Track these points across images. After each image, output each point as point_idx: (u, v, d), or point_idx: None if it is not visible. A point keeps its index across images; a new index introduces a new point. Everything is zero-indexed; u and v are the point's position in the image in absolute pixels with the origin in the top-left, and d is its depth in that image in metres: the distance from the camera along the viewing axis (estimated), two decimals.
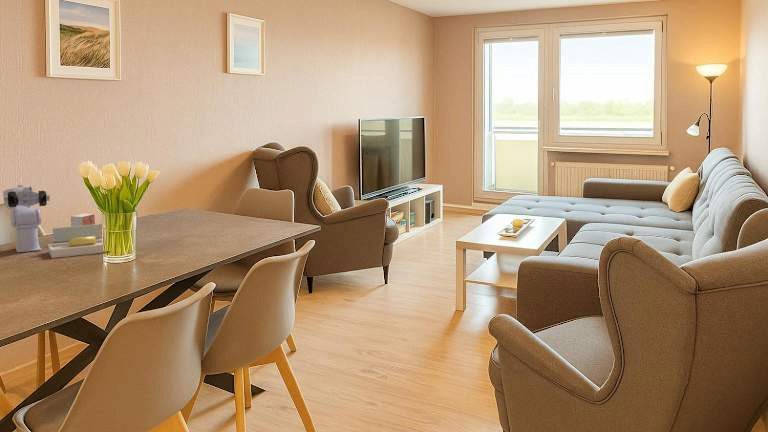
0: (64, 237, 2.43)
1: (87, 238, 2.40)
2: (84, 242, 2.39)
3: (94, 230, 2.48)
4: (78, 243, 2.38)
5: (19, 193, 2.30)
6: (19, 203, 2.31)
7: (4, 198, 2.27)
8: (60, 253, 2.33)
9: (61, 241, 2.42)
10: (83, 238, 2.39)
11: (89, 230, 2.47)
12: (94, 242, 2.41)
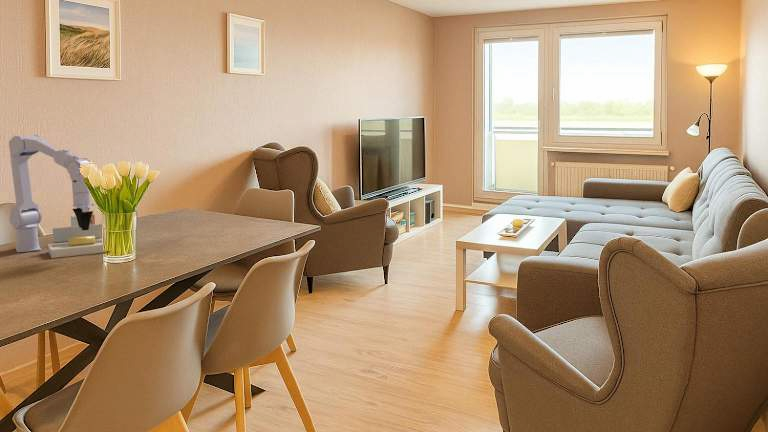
0: (64, 237, 2.43)
1: (86, 236, 2.41)
2: (84, 239, 2.40)
3: (94, 230, 2.48)
4: (77, 240, 2.39)
5: (88, 206, 2.31)
6: None
7: (86, 211, 2.27)
8: (60, 253, 2.33)
9: (61, 241, 2.42)
10: None
11: (89, 230, 2.47)
12: (94, 239, 2.42)
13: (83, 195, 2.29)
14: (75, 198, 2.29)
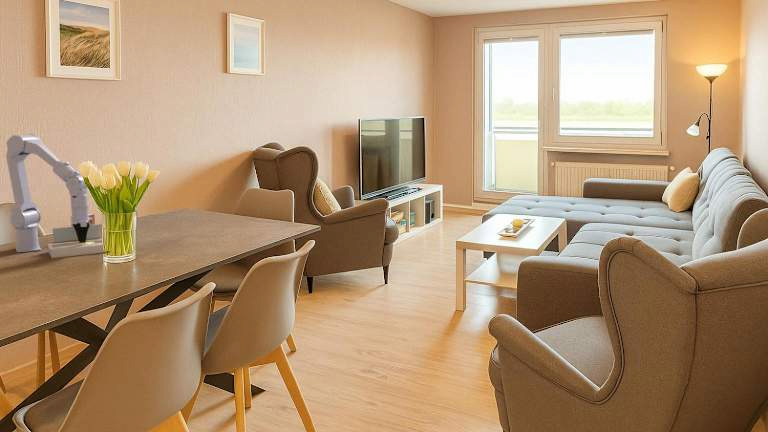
0: (64, 237, 2.43)
1: None
2: None
3: (94, 230, 2.48)
4: None
5: (87, 221, 2.38)
6: None
7: (84, 226, 2.33)
8: (60, 253, 2.33)
9: (61, 241, 2.42)
10: None
11: (89, 230, 2.47)
12: None
13: (81, 210, 2.36)
14: (74, 213, 2.36)
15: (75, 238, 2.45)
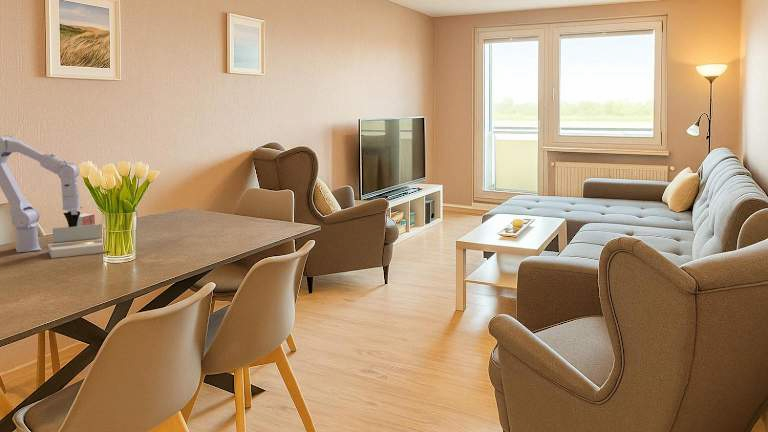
0: (64, 237, 2.43)
1: None
2: None
3: (94, 230, 2.48)
4: None
5: (77, 209, 2.42)
6: None
7: (75, 214, 2.38)
8: (60, 253, 2.33)
9: (61, 241, 2.42)
10: None
11: (89, 230, 2.47)
12: None
13: (72, 198, 2.40)
14: (64, 201, 2.40)
15: (75, 238, 2.45)
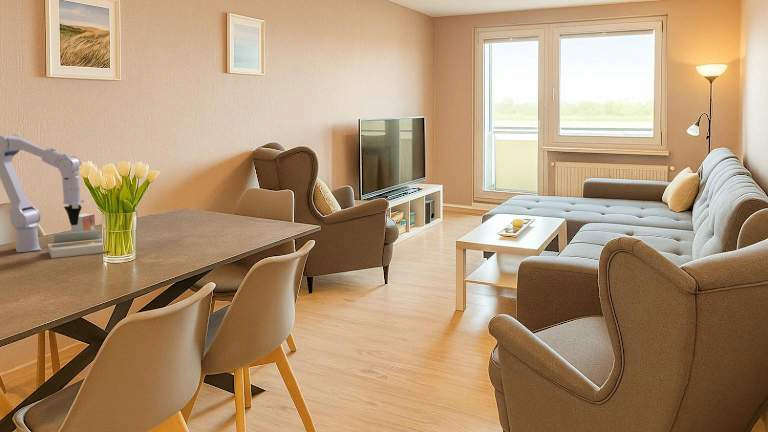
0: (65, 239, 2.42)
1: None
2: None
3: (95, 234, 2.46)
4: None
5: None
6: (68, 204, 2.36)
7: (76, 208, 2.34)
8: (60, 253, 2.33)
9: (61, 242, 2.42)
10: None
11: (90, 234, 2.45)
12: None
13: (73, 192, 2.36)
14: (65, 195, 2.36)
15: (75, 239, 2.44)
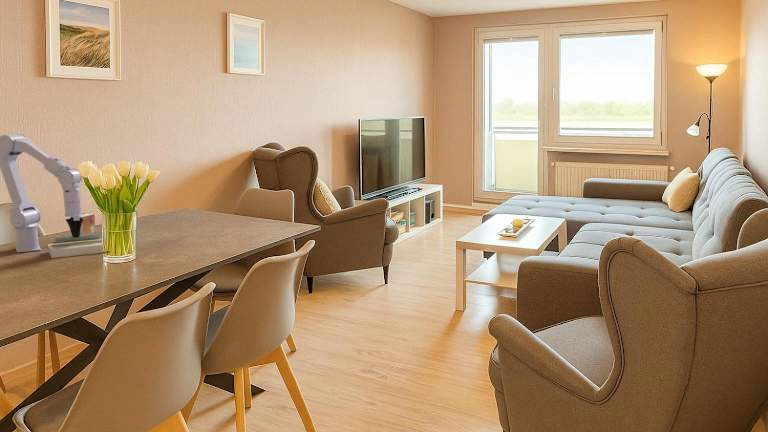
0: (65, 240, 2.42)
1: None
2: None
3: (96, 236, 2.46)
4: None
5: (80, 215, 2.39)
6: (69, 216, 2.36)
7: (77, 220, 2.34)
8: (60, 253, 2.33)
9: (61, 242, 2.42)
10: None
11: (91, 236, 2.45)
12: None
13: (74, 204, 2.37)
14: (66, 207, 2.36)
15: (75, 240, 2.44)
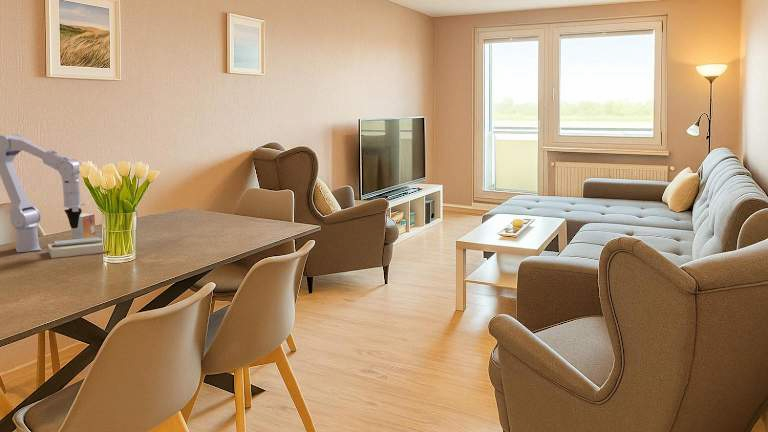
0: None
1: None
2: None
3: None
4: None
5: (79, 206, 2.38)
6: None
7: (76, 211, 2.34)
8: (60, 253, 2.33)
9: None
10: None
11: None
12: None
13: (73, 195, 2.36)
14: (66, 198, 2.36)
15: None
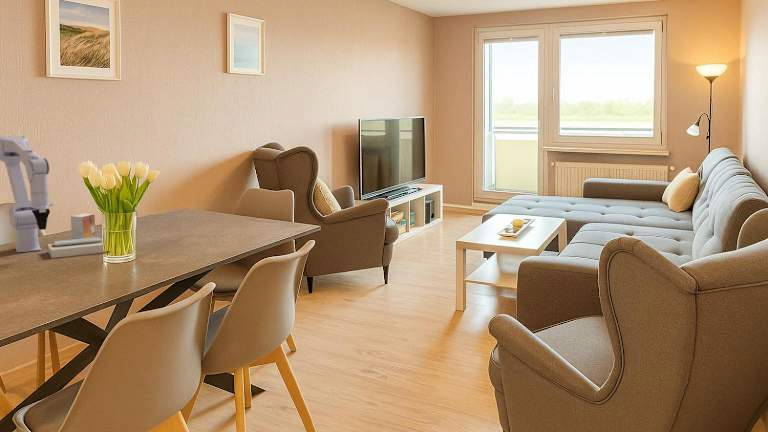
0: None
1: None
2: None
3: None
4: None
5: None
6: (35, 207, 2.27)
7: (43, 212, 2.25)
8: (60, 253, 2.33)
9: None
10: None
11: None
12: None
13: (41, 195, 2.27)
14: (33, 198, 2.27)
15: None
